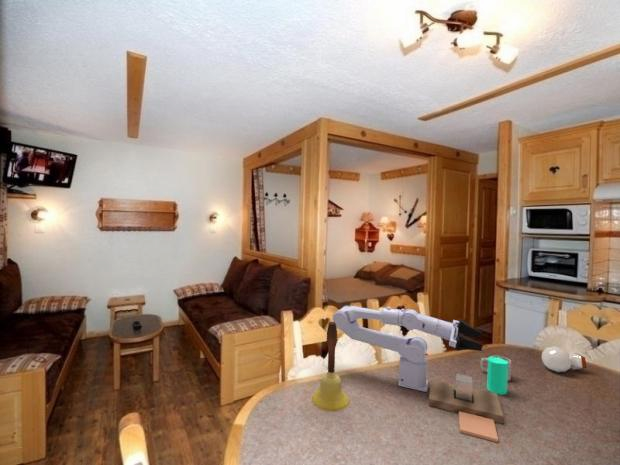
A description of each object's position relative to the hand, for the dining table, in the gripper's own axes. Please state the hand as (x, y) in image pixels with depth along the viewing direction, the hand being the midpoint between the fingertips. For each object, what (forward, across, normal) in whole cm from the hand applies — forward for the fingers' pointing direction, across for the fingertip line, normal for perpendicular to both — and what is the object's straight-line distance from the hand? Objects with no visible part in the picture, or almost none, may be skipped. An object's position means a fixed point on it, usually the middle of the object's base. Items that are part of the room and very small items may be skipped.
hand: (481, 341), depth 99 cm
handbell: (-39, -28, +21) cm, 53 cm away
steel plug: (-2, -8, +19) cm, 20 cm away
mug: (+9, +18, +22) cm, 30 cm away
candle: (+9, +6, +20) cm, 23 cm away
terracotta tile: (+2, -19, +16) cm, 25 cm away
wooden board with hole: (-2, -8, +19) cm, 20 cm away
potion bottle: (+33, +37, +22) cm, 54 cm away
